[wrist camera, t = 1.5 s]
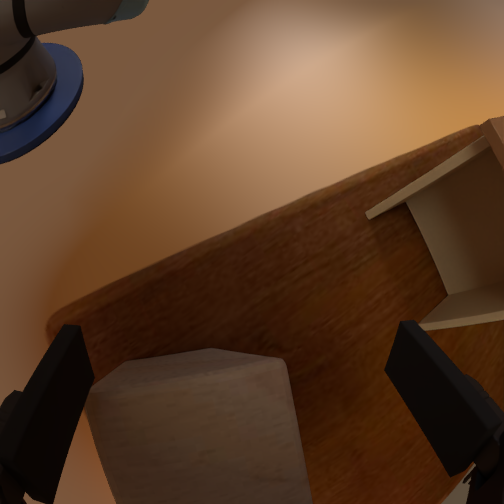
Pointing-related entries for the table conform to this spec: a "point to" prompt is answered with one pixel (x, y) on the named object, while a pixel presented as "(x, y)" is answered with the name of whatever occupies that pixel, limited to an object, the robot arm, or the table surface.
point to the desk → (463, 228)
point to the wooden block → (199, 430)
